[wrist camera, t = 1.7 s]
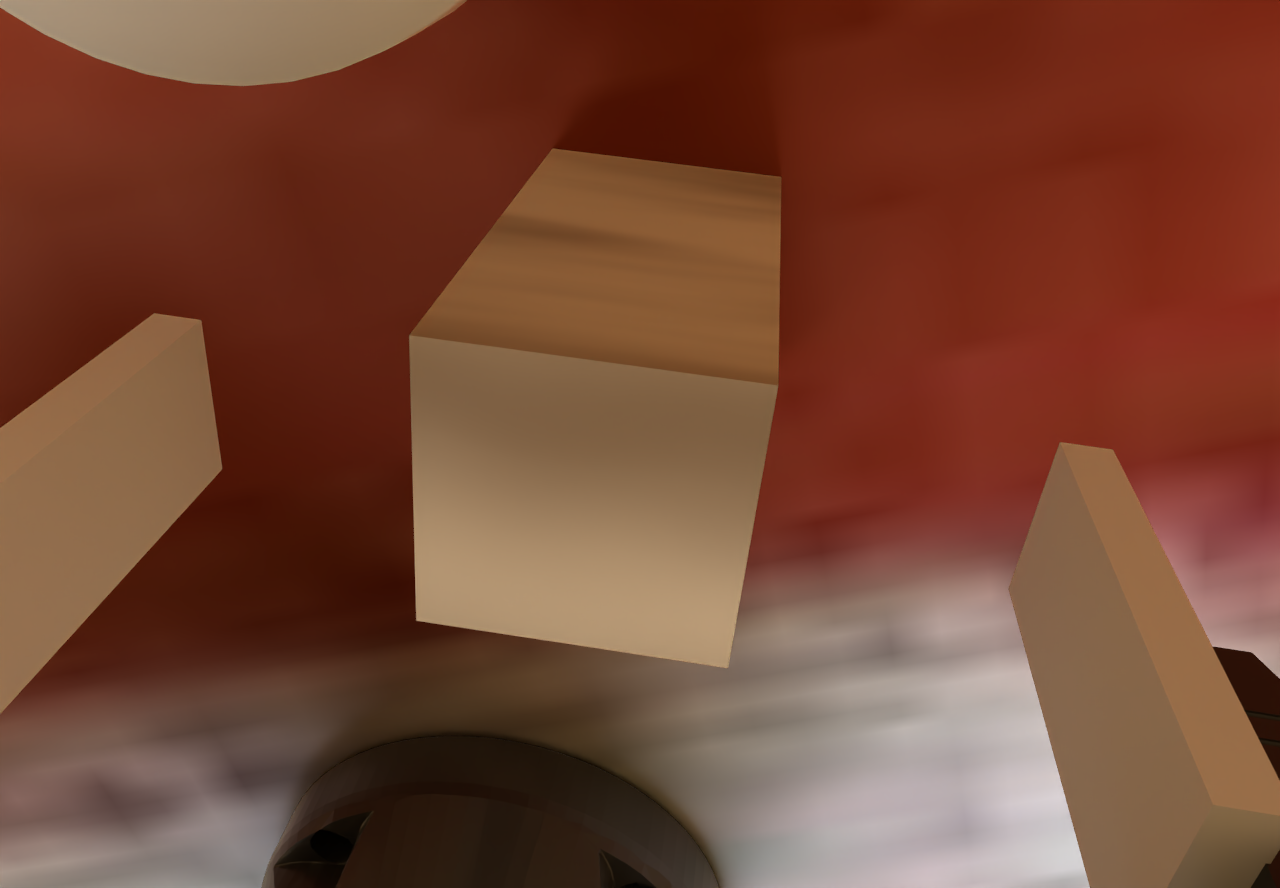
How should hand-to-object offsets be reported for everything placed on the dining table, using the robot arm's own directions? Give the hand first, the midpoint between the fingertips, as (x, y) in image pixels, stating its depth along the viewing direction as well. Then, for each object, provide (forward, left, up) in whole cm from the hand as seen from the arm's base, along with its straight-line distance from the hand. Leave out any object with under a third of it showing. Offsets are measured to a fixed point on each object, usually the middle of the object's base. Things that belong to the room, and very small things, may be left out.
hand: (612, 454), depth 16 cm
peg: (0, 0, -9) cm, 9 cm away
